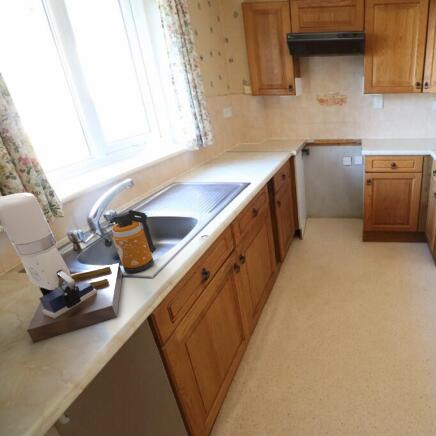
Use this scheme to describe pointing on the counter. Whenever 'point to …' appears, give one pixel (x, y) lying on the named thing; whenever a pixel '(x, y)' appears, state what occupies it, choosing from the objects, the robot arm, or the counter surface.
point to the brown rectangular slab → (82, 305)
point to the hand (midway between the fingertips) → (63, 300)
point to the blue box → (63, 300)
